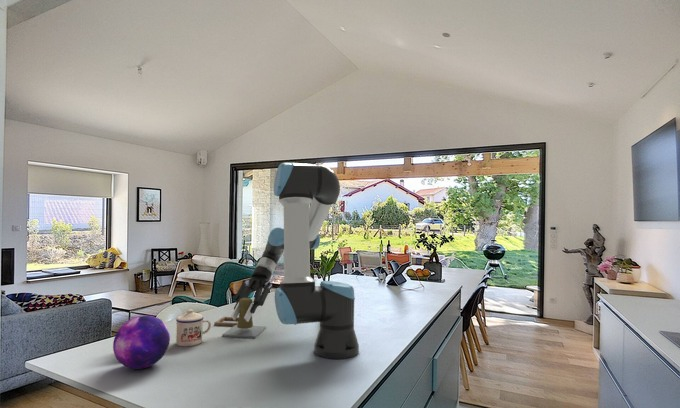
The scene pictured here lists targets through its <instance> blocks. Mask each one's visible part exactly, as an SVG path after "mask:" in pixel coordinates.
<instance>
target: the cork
mask: <svg viewBox="0 0 680 408" xmlns="http://www.w3.org/2000/svg"><path fill="white" fill-rule="evenodd" d="M251 303H253V299H252V298H250V297H247V298H242V299H240V301H239V306H240V312H239V314H238V317H239V319H238V325H237V327H238V328H240V329H247V328H251V327H253V326H254V323H253V314H252V315H251V317H250V320H249V322H247V321H246V320H245V319H244V317H245V315H246V313H247V310H248V308H249V306H250V304H251ZM253 304H254V303H253Z"/></svg>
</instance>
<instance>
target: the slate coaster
mask: <svg viewBox="0 0 680 408" xmlns="http://www.w3.org/2000/svg"><path fill="white" fill-rule="evenodd" d="M266 329H267V326H263V325H253V327H251V328H247V329H240V328H238V327H237V325H235V326H231V327H230V328H229V329H228V330H226V331H225V332H224V333H222V335H221V336H222V337H223V338H224V337H225V338H243V339H257V338H258V337H259V336H260V335H261V334H262V333H263V332H264V331H265V330H266Z"/></svg>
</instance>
